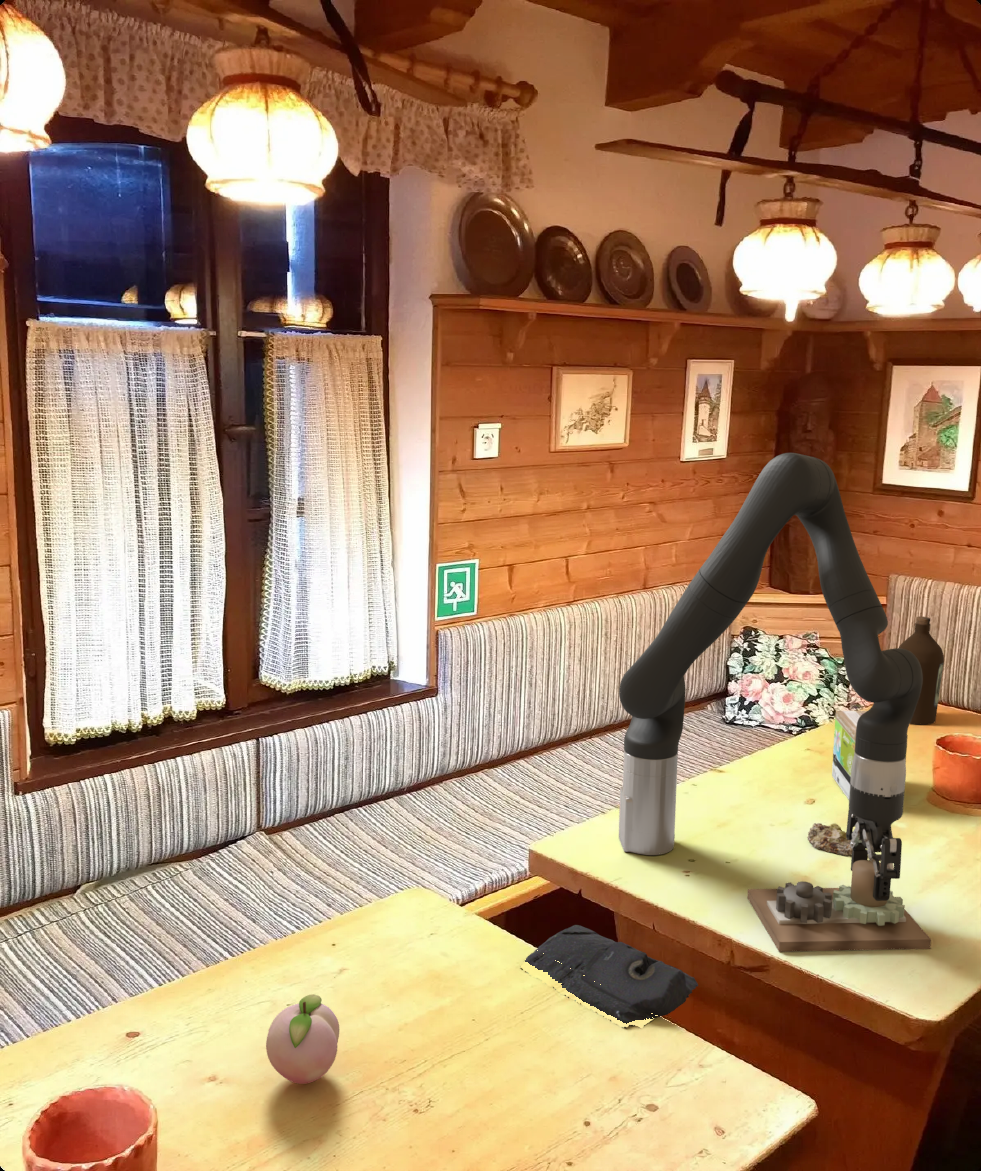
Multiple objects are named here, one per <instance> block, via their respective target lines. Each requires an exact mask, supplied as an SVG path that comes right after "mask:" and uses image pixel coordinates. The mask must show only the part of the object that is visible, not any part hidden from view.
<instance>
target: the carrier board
mask: <svg viewBox="0 0 981 1171" xmlns="http://www.w3.org/2000/svg"><path fill="white" fill-rule="evenodd" d="M784 886H785V887H783V886H778V887H777V888H749V889H748V888H747V897H746V898H747V900H748V902H749V903H750V905H751V907H752V908H753V910H754V912H755V913H756V915H757V917H758V919H759V921H760V922H761V924H762V926H763V927H764V929H765V930H766V932H767V934H768V936H769V937H770V939H771V941H772V942H773V944H774V946H775V947H776V949H777V951H778V953H781V952H784V953H785V952H786V953H787V952H826V951H827V952H829V951H831V952H832V951H833V952H834V951H836V952H837V951H840V952H841V951H883V950H884V951H885V950H888V951H889V950H890V951H891V950H931V943H932V938H931V937H930V936H929V935H928V934H927V933H926V931H925V930H924V929H923V928H922V927H921V925H920V924H918V923H917V921H916V920H915V919H914V918H913V916H911V914H909V912H908V911H907V909H905V908H904V916H903V918H902V917H899V922H897V923H895V924H894V923H892V922H885V925H882V926H878V924H877V923H876V922H866V924H863V923H859V921H860V919H857V918H854V917H851V918H849V919H847V918H846V917H844V916H843V911H836V910H835V909H834V902H833V892H834V890H836V891H839V887H821V886H820V885H816V886H814V884H812V883H811V882H808V881H803V880H802V881H798V882H796V884H793V883H792V882H786V883H785V885H784ZM892 896H893V897H895V896H894V895H892Z"/></svg>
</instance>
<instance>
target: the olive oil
mask: <svg viewBox="0 0 981 1171" xmlns="http://www.w3.org/2000/svg"><path fill="white" fill-rule="evenodd" d="M930 622H931V618H930V617H928V616H922V615H921V616H916V617H915V623H914V632H913V633H912V634H911V635H910V636H908V638H906V639H904V641H903V642H902V643H901V644H900V645H899V647H898V648H902V649H906V650H908V651H910V652H912V653H913V654H914V655H915V656H916V658H917V659H918V661H919V663H920V665H921V669H922V675H923V682H922V689H921V693H920V696H919V699H918V702H917V705H916V708H915V711H914V714H913V717H912V720H911V722H910V724H912V725H920V726H924V725H932V724H934V723H936V720H937V715H938V714H937V713H938V705H939V698H940V692H941V683H942V677H943V671H944V664H945V656H944V652H943V649H942V647H941V645H939V643H938V642H937V641H936V640H935V639H934V638H933V637H932V635H931V633H930V632H931V631H930V630H931V623H930ZM910 724H909V725H910Z"/></svg>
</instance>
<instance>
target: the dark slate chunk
mask: <svg viewBox="0 0 981 1171" xmlns="http://www.w3.org/2000/svg"><path fill="white" fill-rule="evenodd" d="M537 950H538V951H537ZM543 953H544V954H543ZM525 959H526V960H525ZM525 959H524V961H525V962H528V963H529V964H530V965H532V966H535V968H537V969H538V970H543V972H548V975H550V977H552V979H555V981H558V983H562V984H561V985H562V988H566V990H567V991H568V992H570V993H572V994H574V995H575V996H576V997H578V998H579V999H581V1000H582V1001H583V1002H586V1003H588V1004H590V1006H594V1007H596V1008H597V1009H599V1010H600V1011H603V1012H605V1013H606V1014H607V1015H611V1016H613V1017H615V1018H617V1020H620V1021H622V1022H623V1023H626V1024H627V1023H629V1022H632V1021H635V1020H644V1019H645V1020H646V1018H647V1019H649V1018H650V1019H653V1018H656V1019H657V1018H659V1017H664V1016H668V1015H670V1013H673V1012H675V1010H676V1009H678V1008H679V1007H680V1006H682V1005H683V1004H685V1003H686V1001H687V999H688V998H689V997H690V995H691V994H692V993H693V990H695V989H696V988H697V987H699V984H698V981H696V978H695V977H694V976H691V975H689V974H687V973H686V972H684V971H683V970H682V969H679V968H677V967H674V966H672V965H670V964H666V963H665V962H664V961H662V960H658V959H655V958H652V957H650V956H648V954H647V953H646V952H644V951H642V950H639V949H636V947H633V946H631V945H629V944H627V943H625V942H623V941H614V940H613V939H610V938H607V937H605V936H602V935H600V934H599V933H597V932H596V931H594V930H592V929H590V928H587V927H584V926H582V925H579V924H574V925H572V926H570V927H568V928H565V929H563V930H560V931H559V932H557V933H556V934H554V935H552V936H550V937H548V939H547V940H546V941H545V942H543V943H542V944H541V945H539V946H538V947H537V949H535V950H534V951H533V952H531V953H530V954H528V956H527V957H526V958H525ZM555 960H556V961H555ZM557 961H559V962H560V963H559V962H557ZM561 963H562V964H561ZM570 968H571V969H570ZM583 975H585V976H583ZM594 981H595V982H594ZM600 984H601V985H600ZM651 1013H653V1014H651ZM655 1015H658V1016H655ZM652 1017H653V1018H652Z"/></svg>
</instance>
